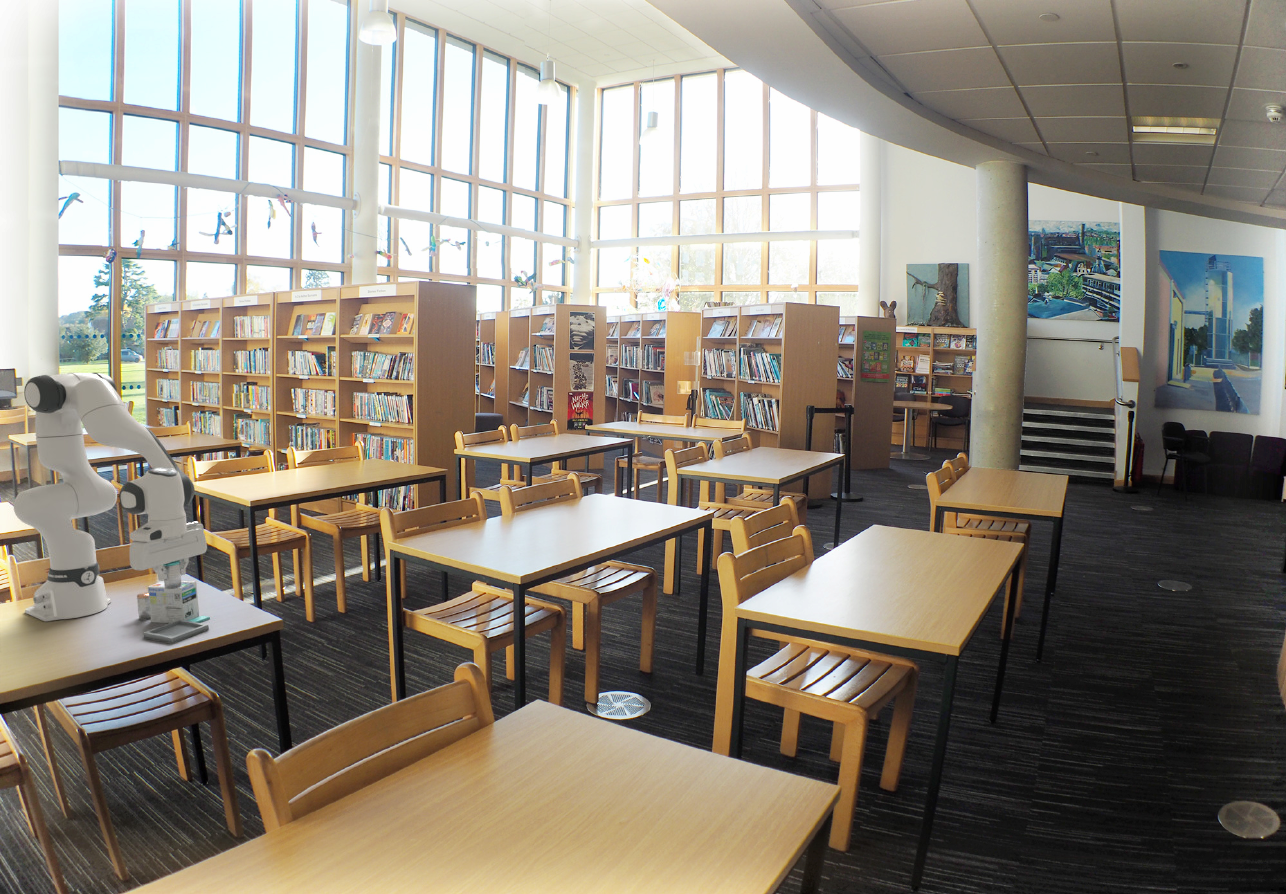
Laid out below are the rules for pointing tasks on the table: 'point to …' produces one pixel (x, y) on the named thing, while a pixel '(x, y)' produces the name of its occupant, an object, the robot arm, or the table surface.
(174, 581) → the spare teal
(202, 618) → the label tile
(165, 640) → the tray
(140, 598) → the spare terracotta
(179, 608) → the light bulb box
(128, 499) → the robot arm
